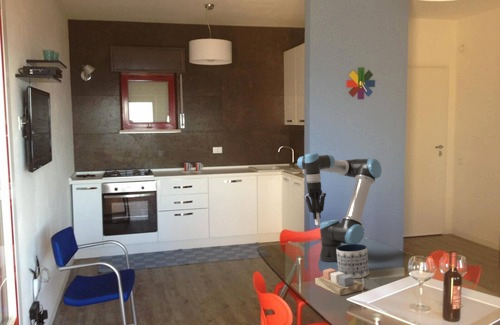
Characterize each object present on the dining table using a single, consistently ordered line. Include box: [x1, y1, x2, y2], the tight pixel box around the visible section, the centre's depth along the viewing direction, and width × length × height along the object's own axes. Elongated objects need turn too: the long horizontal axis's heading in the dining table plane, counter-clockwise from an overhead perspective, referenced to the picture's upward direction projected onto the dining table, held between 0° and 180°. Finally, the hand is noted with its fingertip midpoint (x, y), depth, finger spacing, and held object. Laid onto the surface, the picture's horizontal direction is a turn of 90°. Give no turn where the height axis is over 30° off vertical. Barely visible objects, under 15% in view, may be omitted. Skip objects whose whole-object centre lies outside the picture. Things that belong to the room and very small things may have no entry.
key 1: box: [322, 268, 338, 280], centre depth 238 cm, size 5×5×5 cm
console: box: [314, 276, 364, 296], centre depth 231 cm, size 13×22×3 cm, turn 23°
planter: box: [336, 243, 370, 280], centre depth 249 cm, size 16×16×14 cm
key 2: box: [338, 275, 354, 287], centre depth 225 cm, size 5×5×5 cm
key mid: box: [330, 270, 345, 284], centre depth 231 cm, size 5×5×5 cm
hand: (317, 224), depth 257 cm, fingers closed
